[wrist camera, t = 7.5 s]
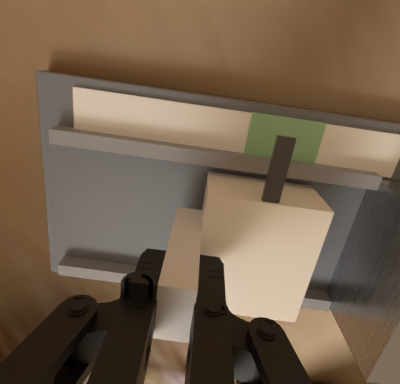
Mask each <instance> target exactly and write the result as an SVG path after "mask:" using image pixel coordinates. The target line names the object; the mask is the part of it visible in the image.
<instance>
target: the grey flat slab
mask: <svg viewBox="0 0 400 384" xmlns="http://www.w3.org/2000/svg"><path fill="white" fill-rule="evenodd" d="M326 292H327V294H328V295H329V297H330V299H331V301H332V302H331V305H330V307H329V308H330V310H331V312H332V314H333V316H334V318H335V320H336V322H337V324H338V326H339V328H340V330H341V332H342V334H343V336H344V338H345V340H346V342H347V344H348V346H349V348H350V350H351V352H352V354H353V357H354V359H355V361H356V363H357V365H358V367H359V369H360V371H361V373H362V375H363V377H364V379H365V381H366V382H369V383H377V384H400V180H396V179H389V178H382V181H381V183H380V185H379V188H378V190H377V191H376V190H369V189H366V191H365V194H364V196H363V199H362V201H361V204H360V207H359V209H358V212H357V214H356V217H355V219H354V222H353V224H352V227H351V229H350V232H349V235H348V237H347V240H346V242H345V245H344V247H343V250H342V252H341V255H340V257H339V260H338V263H337V265H336V268H335V270H334V273H333V275H332V278H331V280H330V283H329V285H328V288H327V291H326Z"/></svg>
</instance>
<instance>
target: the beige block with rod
mask: <svg viewBox="0 0 400 384" xmlns="http://www.w3.org/2000/svg"><path fill="white" fill-rule="evenodd" d="M295 143H296V138H294V137H287V136H280V135H277V136H276V140H275V144H274V148H273V153H272V157H271V161H270V165H269V169H268V173H267V177H266V179H260V178H253V177H246V176H239V175H232V174H225V173H218V172H211V171H208V177H207V183H206V189H205V196H204V202H203V208H202V210H203V216H202V231H201V247H200V255H207V256H215V257H219V258H220V259H221V261H222V262H223V264H224V279H225V294H226V304H227V306H228V308H229V310H230V311H231V313H232V314H234V315H242V316H249V317H257V318H258V317H264V318H268V319H272V320H279V321H287V322H294V323H295V321H296V318H297V316H298V313H299V310H300V307H301V304H302V302H303V299H304V296H305V293H306V290H307V288H308V285H309V282H310V279H311V277H312V274H313V271H314V268H315V265H316V263H317V260H318V257H319V254H320V251H321V249H322V246H323V243H324V240H325V237H326V235H327V232H328V229H329V226H330V224H331V221H332V218H333V215H334V212H333V211H332V209H331V208H330V207H329V206H328V205H327V203H326V202H325V201H324V200H323V199H322V198H321V196H320V195H319V194H318V193H317V192H316V190H315V189H314V188H313V187H312V186H309V185H302V184H295V183H288V182H285V180H286V176H287V172H288V169H289V165H290V161H291V158H292V154H293V150H294V147H295Z"/></svg>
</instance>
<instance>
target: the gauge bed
mask: <svg viewBox="0 0 400 384" xmlns="http://www.w3.org/2000/svg"><path fill="white" fill-rule="evenodd" d="M36 83H37V95H38V108H39V121H40V134H41V147H42V160H43V172H44V185H45V198H46V211H47V224H48V236H49V249H50V262H51V272H58V275H63V276H71V277H78V278H86V279H93V280H101V281H108V282H116V283H121V280H122V279H123V277H124V276H126V275H127V274H129V273H132V272H134V271H135V269H136V266H137V264H138V261H139V258H140V256H141V254H142V253H143V252H144V251H145V250H146V249H147V248H150V249H157V250H165V251H166V250H167V246H168V242H169V238H170V234H171V230H172V226H173V222H174V218H175V214H176V210H177V207H182V208H190V209H197V210H202V208H203V202H204V196H205V189H206V183H207V177H208V171H211V172H218V173H225V174H232V175H239V176H246V177H253V178H260V179H266V177H267V173H268V169H269V165H270V161H271V157H272V153H273V148H274V144H275V140H276V136H277V135H280V136H287V137H294V138H296V143H295V147H294V150H293V154H292V158H291V161H290V165H289V169H288V172H287V176H286V180H285V182H288V183H295V184H302V185H309V186H312V187H313V188H314V189H315V190H316V192H317V193H318V194H319V195H320V196H321V198H322V199H323V200H324V201H325V202H326V203H327V205H328V206H329V207H330V208H331V209H332V211H333V212H334V215H333V218H332V221H331V224H330V226H329V229H328V232H327V235H326V237H325V240H324V243H323V246H322V249H321V251H320V254H319V257H318V260H317V263H316V265H315V268H314V271H313V274H312V277H311V279H310V282H309V285H308V288H307V290H306V293H305V296H304V299H303V302H302V304H301V307H302V308H310V309H317V310H325V311H328V310H329V309H330V308H329V307H330V305H331V302H332V301H331V299H330V297H329V295H328V294H327V292H326V291H327V288H328V285H329V283H330V280H331V278H332V275H333V273H334V270H335V268H336V265H337V263H338V260H339V257H340V255H341V252H342V250H343V247H344V245H345V242H346V240H347V237H348V235H349V232H350V229H351V227H352V224H353V222H354V219H355V217H356V214H357V212H358V209H359V207H360V204H361V201H362V199H363V196H364V194H365V191H366V189H369V190H376V191H377V190H378V188H379V185H380V183H381V181H382V178H389V179H396V180H400V123H398V122H391V121H384V120H377V119H371V118H364V117H357V116H350V115H344V114H337V113H330V112H323V111H317V110H310V109H303V108H296V107H289V106H283V105H276V104H269V103H262V102H256V101H249V100H242V99H235V98H229V97H222V96H215V95H208V94H202V93H195V92H188V91H181V90H175V89H168V88H161V87H154V86H148V85H141V84H134V83H127V82H121V81H114V80H107V79H100V78H94V77H87V76H80V75H73V74H67V73H60V72H53V71H36Z"/></svg>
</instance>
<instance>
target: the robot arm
mask: <svg viewBox="0 0 400 384" xmlns="http://www.w3.org/2000/svg"><path fill="white" fill-rule="evenodd" d="M202 216H203V210H197V209H190V208H182V207H177V210H176V214H175V218H174V222H173V226H172V230H171V234H170V238H169V242H168V246H167V250H166V251H165V250H157V249H150V248H147V249H146V250H145V251H144V252H143V253H142V254H141V256H140V258H139V261H138V264H137V266H136V269H135V271H134V272H132V273H129V274H127V275H126V276H124V277H123V279H122V280H121V298H119V299H117V300H115V301H112V302H107V303H99V304H97V302H96V300H95V299H94V298H92V297H91V296H88V295H75V296H73V297H70V298H68V299H66V300H65V301H63V302H62V303H61V304H60V305H59V306H58V307H57V308H56V309H55V310H54V311H53V312H52V313H51V314H50V315H49V316H48V317H47V318H46V319H45V320H44V321H43V322H42V323H41V324H40V325H39V326H38V327H37V328H36V329H35V330H34V331H33V332H32V333H31V334H30V335H29V336H28V337H27V338H26V339H25V340H24V341H23V342H22V343H21V344H20V345H19V346H18V347H17V348H16V349H15V350H14V351H13V352H12V353H11V354H10V355H9V356H8V357H7V358H6V359H5V360H4V361H3V362H2V363H1V364H0V384H83V382H84V381H85V379H86V378H87V376H88V375H89V373H90V372H91V370H92V372H91V374H90V377H89V379H88V382H87V384H144V380H145V375H146V371H147V366H148V361H149V357H150V352H151V342H152V338H153V339H161V340H169V341H177V342H184V343H189V348H188V354H187V360H186V366H185V369H186V374H185V384H235V383H234V378H235V379H236V383H237V384H312V382H311V380H310V378H309V376H308V375H307V373H306V371H305V369H304V367H303V365H302V364H301V362H300V360H299V358H298V356H297V354H296V352H295V351H294V349H293V347H292V345H291V343H290V341H289V339H288V338H287V336H286V334H285V332H284V330H283V329H282V328H281V326H280V325H279V324H277V323H276V322H275V321H273V320H271V319H268V318H264V317H258V318H255V319H253V320H252V321H251V322H247V321H245V320H242V319H240V318H238V317H236V316H235V315H234V314H232V313H231V311H230V310H229V308H228V306H227V304H226V294H225V279H224V264H223V262H222V261H221V259H220V258H219V257H215V256H207V255H200V247H201V231H202Z"/></svg>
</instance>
